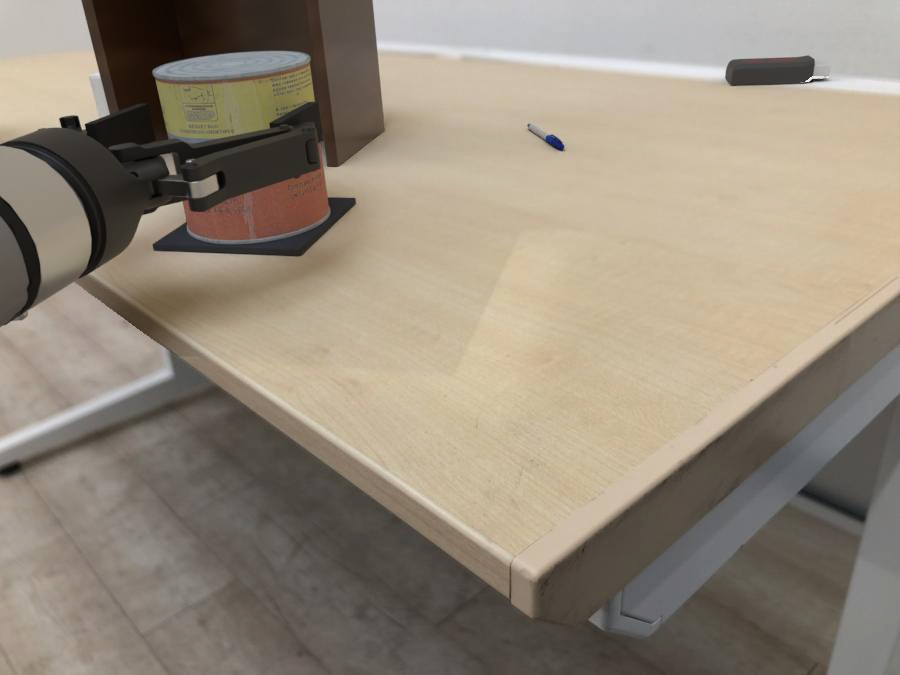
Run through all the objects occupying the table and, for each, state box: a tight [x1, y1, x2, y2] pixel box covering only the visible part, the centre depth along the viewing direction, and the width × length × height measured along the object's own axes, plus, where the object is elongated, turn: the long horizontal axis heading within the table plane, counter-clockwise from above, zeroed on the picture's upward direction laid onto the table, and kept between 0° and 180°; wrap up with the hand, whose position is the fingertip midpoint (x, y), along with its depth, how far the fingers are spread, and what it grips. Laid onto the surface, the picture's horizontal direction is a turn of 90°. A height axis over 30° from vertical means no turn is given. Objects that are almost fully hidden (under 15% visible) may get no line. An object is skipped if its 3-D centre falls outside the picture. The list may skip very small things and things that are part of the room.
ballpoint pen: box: [526, 123, 565, 151], centre depth 84 cm, size 10×1×1 cm, turn 15°
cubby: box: [80, 0, 386, 167], centre depth 83 cm, size 24×15×22 cm, turn 76°
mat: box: [151, 196, 357, 257], centre depth 64 cm, size 12×12×1 cm
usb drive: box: [724, 55, 832, 86], centre depth 103 cm, size 5×12×3 cm, turn 81°
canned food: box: [152, 51, 331, 245], centre depth 61 cm, size 11×11×12 cm
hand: (229, 121), depth 59 cm, fingers open, 13 cm apart
